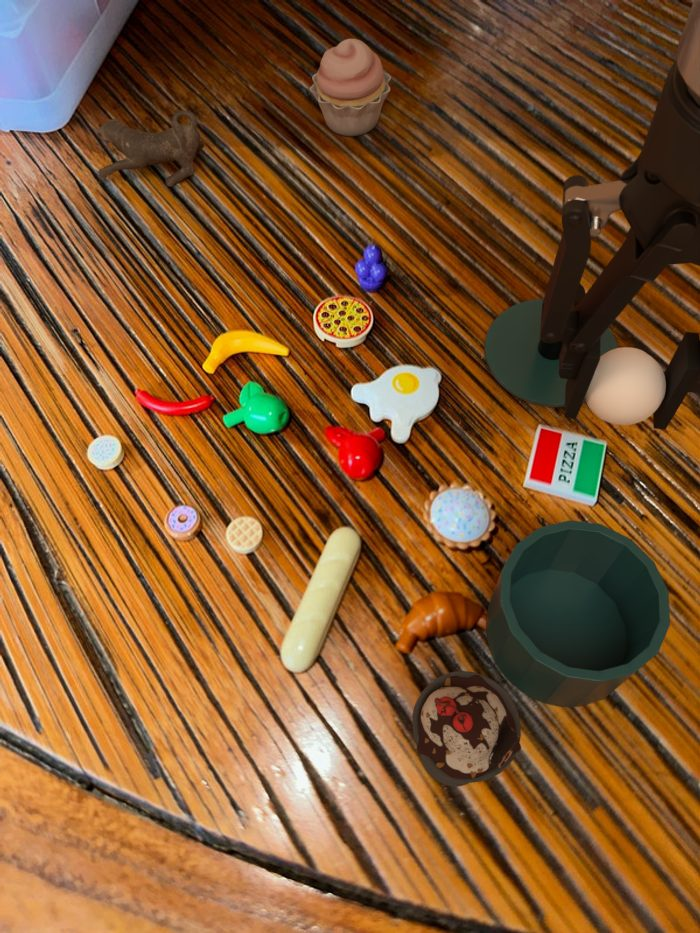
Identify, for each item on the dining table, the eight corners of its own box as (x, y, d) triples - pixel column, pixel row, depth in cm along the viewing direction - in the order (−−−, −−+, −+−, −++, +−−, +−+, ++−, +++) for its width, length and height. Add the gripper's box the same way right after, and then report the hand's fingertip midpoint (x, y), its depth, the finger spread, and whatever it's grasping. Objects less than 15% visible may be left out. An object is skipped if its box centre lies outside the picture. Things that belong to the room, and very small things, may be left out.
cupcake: (301, 138, 89) (293, 57, 80) (327, 89, 93) (322, 7, 85) (377, 153, 87) (377, 72, 79) (400, 103, 92) (403, 20, 83)
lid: (615, 312, 75) (643, 243, 67) (617, 418, 69) (647, 357, 61) (487, 300, 76) (500, 231, 68) (478, 403, 70) (491, 341, 62)
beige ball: (649, 382, 52) (673, 335, 47) (654, 443, 49) (680, 399, 45) (574, 377, 52) (591, 330, 48) (576, 437, 50) (594, 393, 45)
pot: (631, 574, 62) (666, 531, 54) (635, 717, 56) (673, 692, 49) (490, 556, 63) (505, 512, 56) (480, 695, 58) (495, 666, 50)
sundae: (392, 724, 57) (396, 676, 44) (474, 691, 58) (501, 633, 45) (428, 814, 54) (443, 791, 41) (514, 777, 55) (556, 743, 42)
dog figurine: (211, 152, 89) (197, 93, 82) (206, 186, 86) (192, 129, 79) (109, 155, 89) (87, 97, 82) (101, 189, 86) (78, 132, 80)
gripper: (993, 36, 31) (752, 376, 51) (542, 11, 33) (482, 347, 53) (1042, 161, 27) (762, 473, 48) (532, 123, 29) (472, 437, 50)
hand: (614, 406), depth 50 cm, fingers closed on beige ball, 5 cm apart
